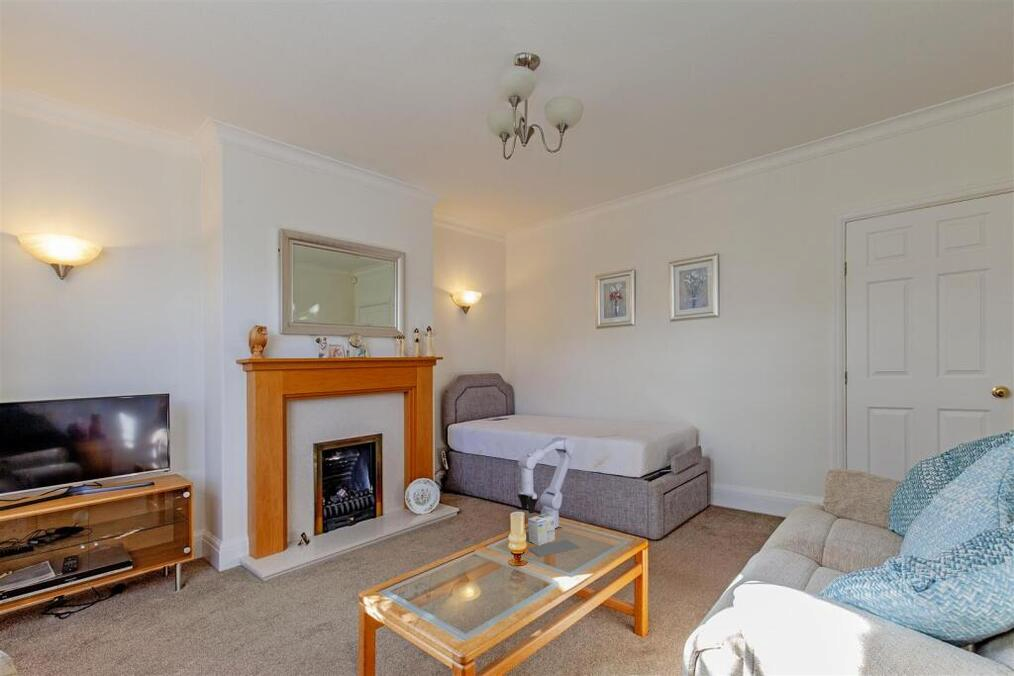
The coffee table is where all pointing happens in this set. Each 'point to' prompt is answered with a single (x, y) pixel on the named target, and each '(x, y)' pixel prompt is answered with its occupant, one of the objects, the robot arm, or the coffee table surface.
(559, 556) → the coffee table surface
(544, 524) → the light bulb box
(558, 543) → the mat
